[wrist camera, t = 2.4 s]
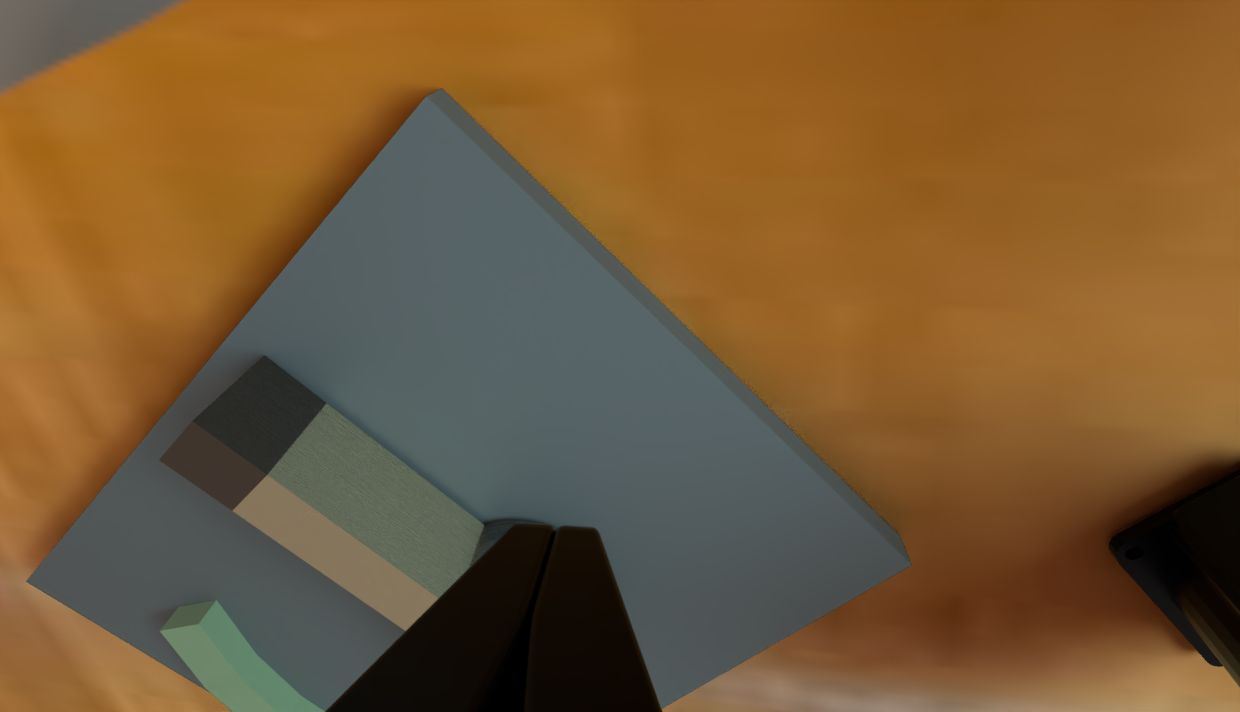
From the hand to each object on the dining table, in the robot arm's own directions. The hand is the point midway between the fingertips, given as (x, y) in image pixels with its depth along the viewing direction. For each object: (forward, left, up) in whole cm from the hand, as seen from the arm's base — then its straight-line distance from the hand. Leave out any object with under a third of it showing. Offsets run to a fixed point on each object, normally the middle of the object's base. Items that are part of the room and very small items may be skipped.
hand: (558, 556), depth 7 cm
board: (-4, +12, -12) cm, 17 cm away
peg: (-2, +10, -11) cm, 15 cm away
